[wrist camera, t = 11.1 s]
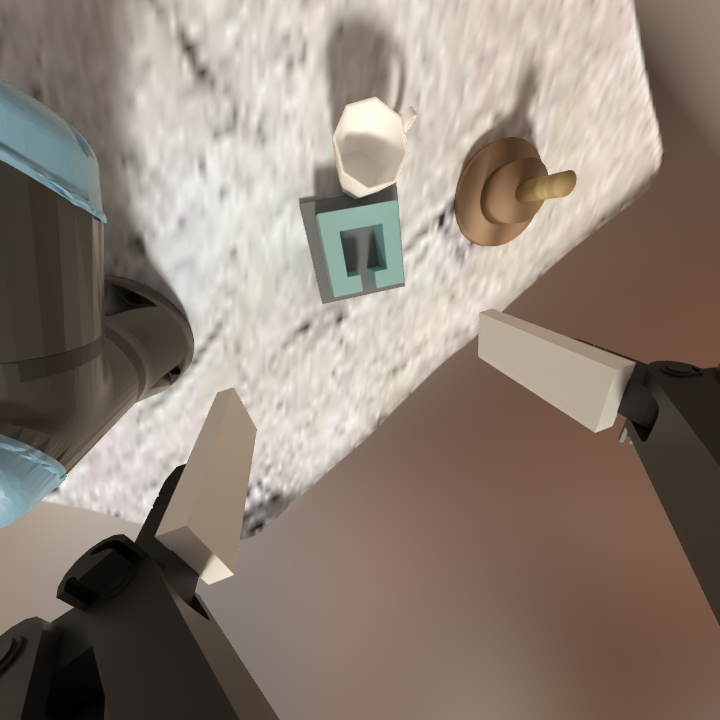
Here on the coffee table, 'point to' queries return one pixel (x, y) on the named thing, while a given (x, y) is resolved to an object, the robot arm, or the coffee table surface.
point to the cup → (370, 146)
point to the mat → (346, 242)
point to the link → (385, 239)
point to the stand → (505, 191)
